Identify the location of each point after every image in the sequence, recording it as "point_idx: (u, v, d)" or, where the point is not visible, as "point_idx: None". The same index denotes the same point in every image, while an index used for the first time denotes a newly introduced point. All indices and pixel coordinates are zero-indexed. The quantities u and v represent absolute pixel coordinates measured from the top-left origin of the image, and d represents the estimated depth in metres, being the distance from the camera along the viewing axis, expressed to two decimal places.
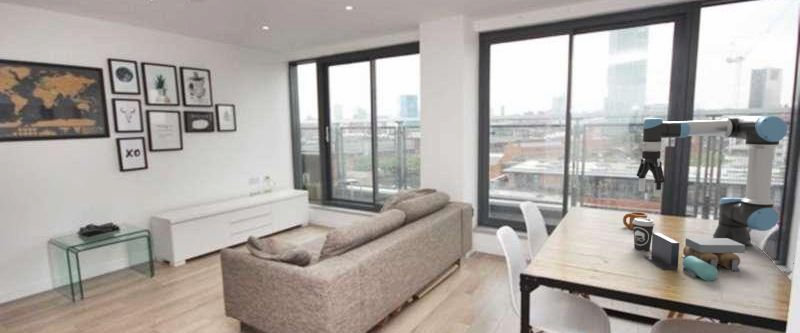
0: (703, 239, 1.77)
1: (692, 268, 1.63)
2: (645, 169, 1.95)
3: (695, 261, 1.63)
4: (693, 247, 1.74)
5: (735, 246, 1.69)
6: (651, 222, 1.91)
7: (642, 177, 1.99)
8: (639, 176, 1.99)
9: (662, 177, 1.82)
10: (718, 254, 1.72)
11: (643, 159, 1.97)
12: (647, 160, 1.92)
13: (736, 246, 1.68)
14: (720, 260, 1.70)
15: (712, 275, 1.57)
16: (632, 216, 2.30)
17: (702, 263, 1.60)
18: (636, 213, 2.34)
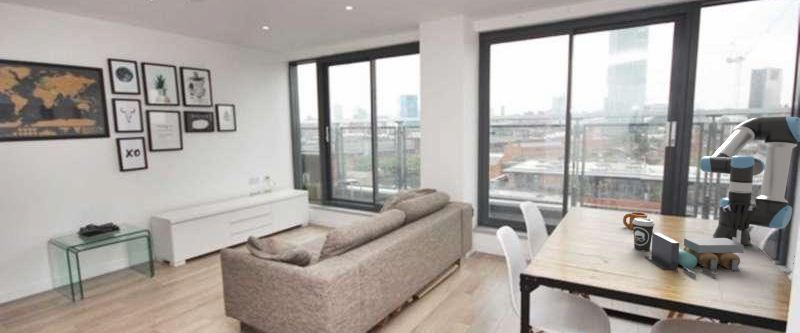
0: (701, 239, 1.77)
1: None
2: None
3: None
4: (691, 247, 1.74)
5: (733, 246, 1.68)
6: (651, 222, 1.91)
7: (739, 228, 1.72)
8: None
9: (728, 224, 1.72)
10: (718, 253, 1.72)
11: (751, 206, 1.71)
12: None
13: (734, 246, 1.68)
14: (720, 260, 1.70)
15: (692, 263, 1.70)
16: (632, 216, 2.30)
17: (682, 252, 1.73)
18: (636, 213, 2.34)
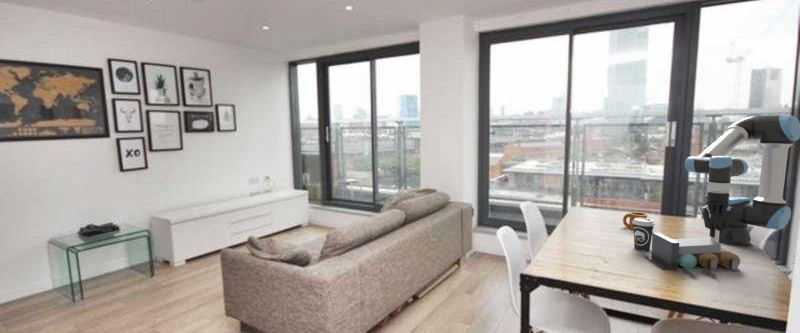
0: (680, 240, 1.78)
1: None
2: None
3: None
4: None
5: (711, 246, 1.69)
6: (651, 222, 1.91)
7: (717, 229, 1.73)
8: None
9: (707, 224, 1.73)
10: (718, 253, 1.72)
11: (730, 206, 1.72)
12: None
13: (712, 245, 1.69)
14: (720, 260, 1.70)
15: (692, 262, 1.70)
16: (632, 216, 2.30)
17: (679, 254, 1.73)
18: (636, 213, 2.34)
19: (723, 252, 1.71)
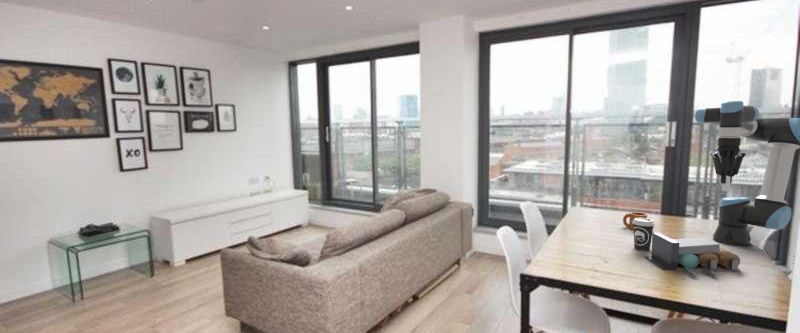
0: (679, 240, 1.78)
1: None
2: None
3: None
4: None
5: (710, 246, 1.69)
6: (651, 222, 1.91)
7: (728, 175, 1.73)
8: (727, 173, 1.74)
9: (718, 170, 1.72)
10: (718, 253, 1.72)
11: None
12: None
13: (711, 245, 1.69)
14: (720, 260, 1.70)
15: (694, 261, 1.70)
16: (632, 216, 2.30)
17: (680, 255, 1.73)
18: (636, 213, 2.34)
19: (723, 252, 1.71)
